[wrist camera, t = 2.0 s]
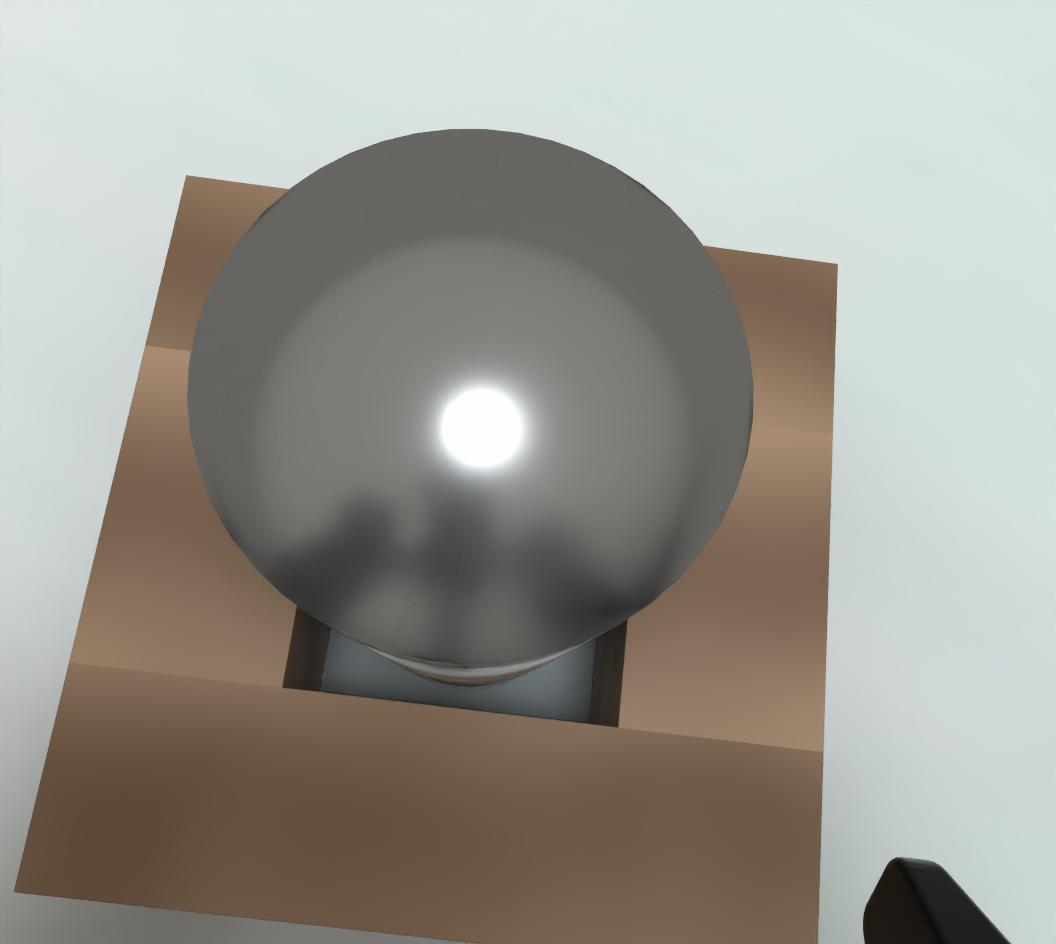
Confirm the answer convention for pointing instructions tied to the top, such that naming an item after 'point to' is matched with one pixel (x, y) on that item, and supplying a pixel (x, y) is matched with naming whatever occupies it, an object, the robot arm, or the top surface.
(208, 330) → the shiny metal cylinder
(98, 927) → the top surface
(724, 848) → the housing
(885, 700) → the top surface
